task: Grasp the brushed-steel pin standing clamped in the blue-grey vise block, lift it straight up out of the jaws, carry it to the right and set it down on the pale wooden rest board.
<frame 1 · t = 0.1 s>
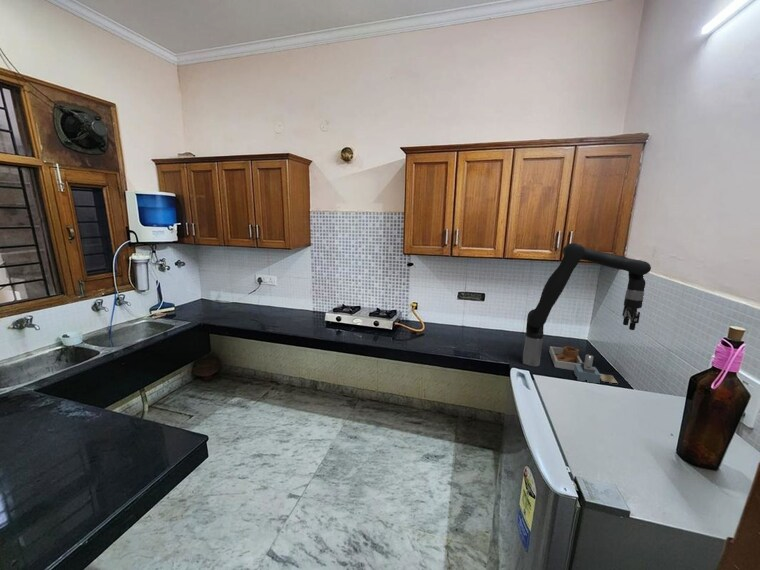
hand: (628, 327, 168), 29 cm above the worktop, fingers open, 8 cm apart
vise block: (586, 377, 173), on the worktop
bracket: (564, 361, 193), resting in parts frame
rest board: (607, 379, 171), on the worktop
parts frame: (564, 361, 193), on the worktop
steel pin: (586, 377, 173), resting in vise block
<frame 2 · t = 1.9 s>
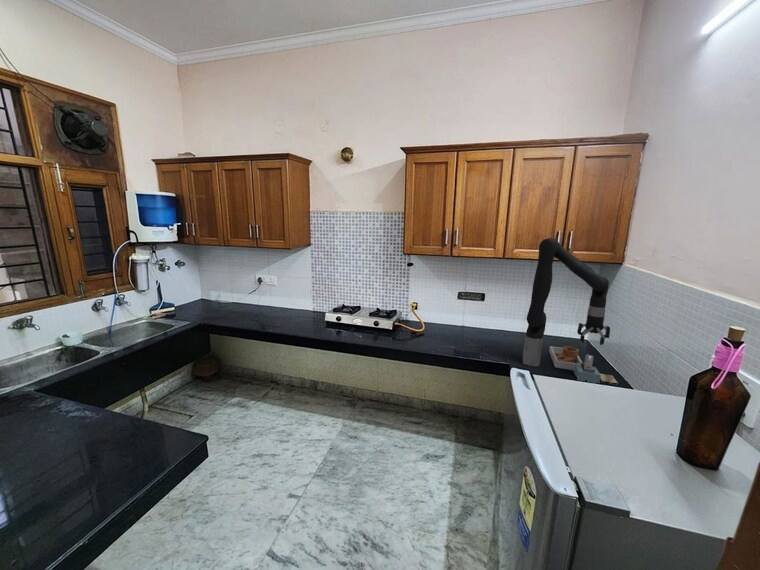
hand: (591, 343, 169), 20 cm above the worktop, fingers open, 8 cm apart
nothing on the worktop moved.
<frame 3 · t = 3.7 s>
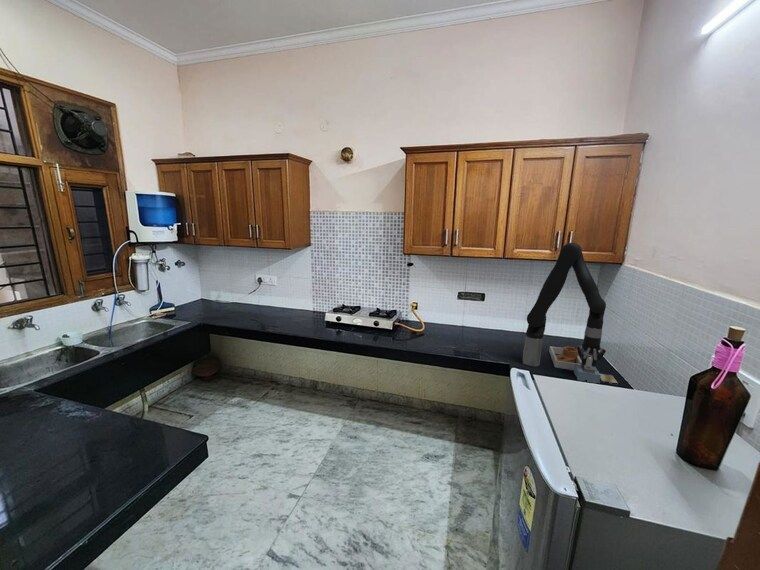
hand: (588, 364, 171), 8 cm above the worktop, fingers closed on steel pin, 3 cm apart
bracket: (565, 361, 193), resting in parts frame
steel pin: (586, 377, 173), resting in vise block, touching gripper
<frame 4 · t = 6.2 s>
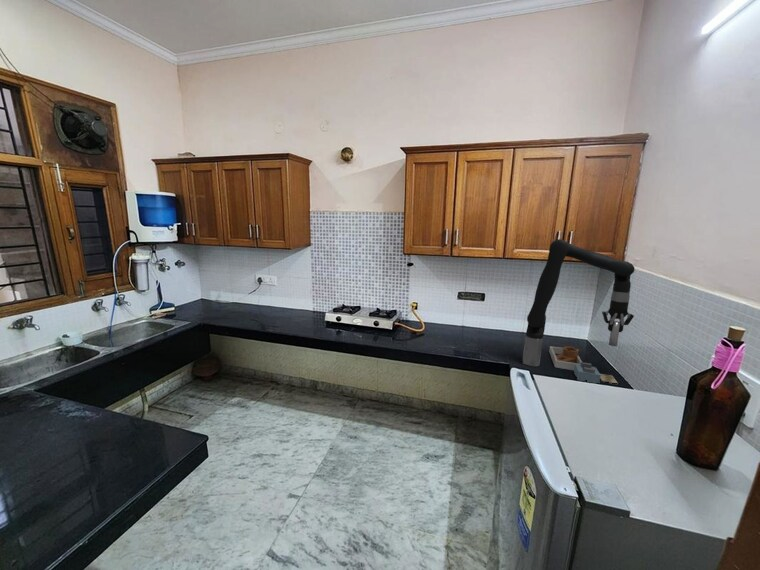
hand: (615, 331, 166), 28 cm above the worktop, fingers closed on steel pin, 3 cm apart
steel pin: (612, 345, 167), point 20 cm above the worktop, touching gripper
everything else where it was.
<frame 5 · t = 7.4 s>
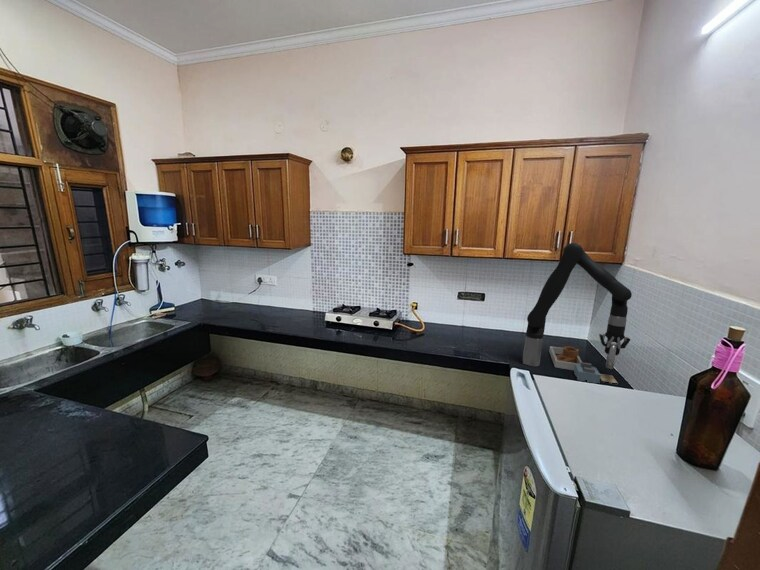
hand: (611, 354, 168), 15 cm above the worktop, fingers closed on steel pin, 3 cm apart
steel pin: (609, 367, 170), point 7 cm above the worktop, touching gripper
everything else where it was.
when the fingers open (9 cm above the worktop, at t = 8.6 s): steel pin stays where it is, resting on rest board.
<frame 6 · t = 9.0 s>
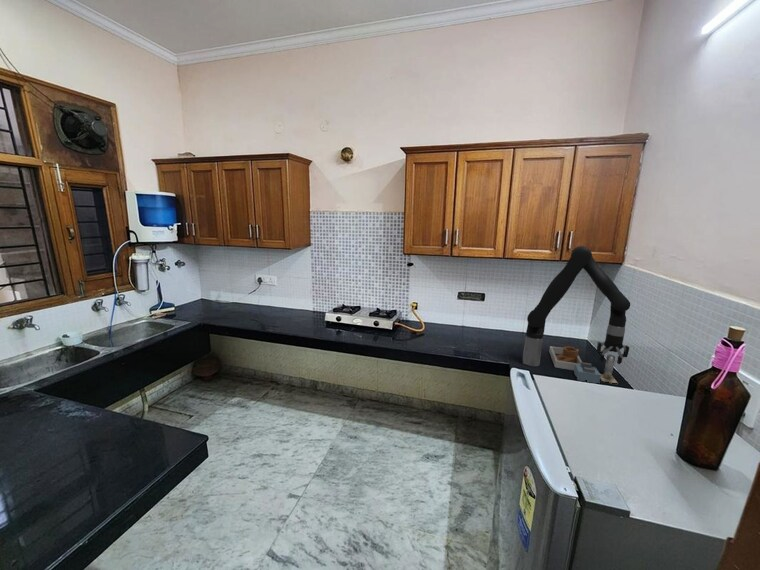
hand: (610, 362, 169), 10 cm above the worktop, fingers open, 7 cm apart
steel pin: (607, 378, 171), point 1 cm above the worktop, touching rest board
everything else where it was.
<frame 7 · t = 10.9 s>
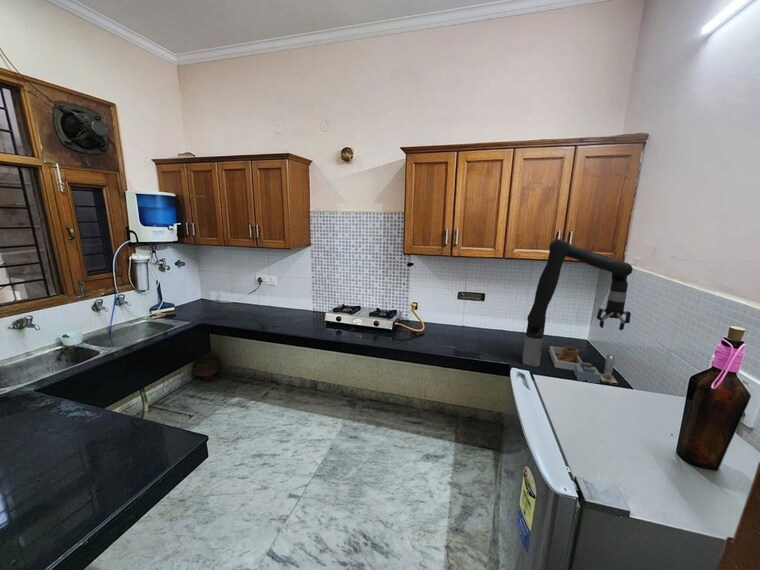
hand: (611, 328, 169), 28 cm above the worktop, fingers open, 8 cm apart
nothing on the worktop moved.
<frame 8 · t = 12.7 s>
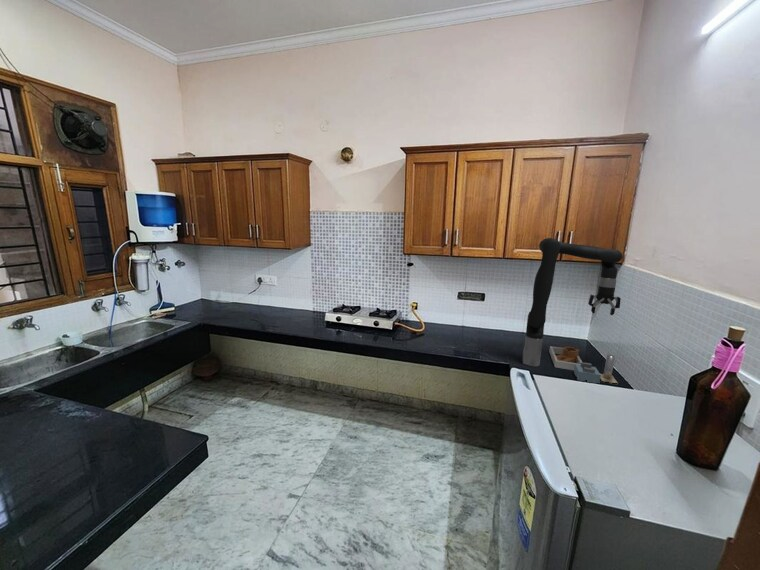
hand: (602, 314, 175), 34 cm above the worktop, fingers open, 8 cm apart
nothing on the worktop moved.
at the end: steel pin inside the target area on the rest board (0.1 cm from its centre), point 0.8 cm above the rest board's base; steel pin touching rest board; the gripper is holding nothing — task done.
